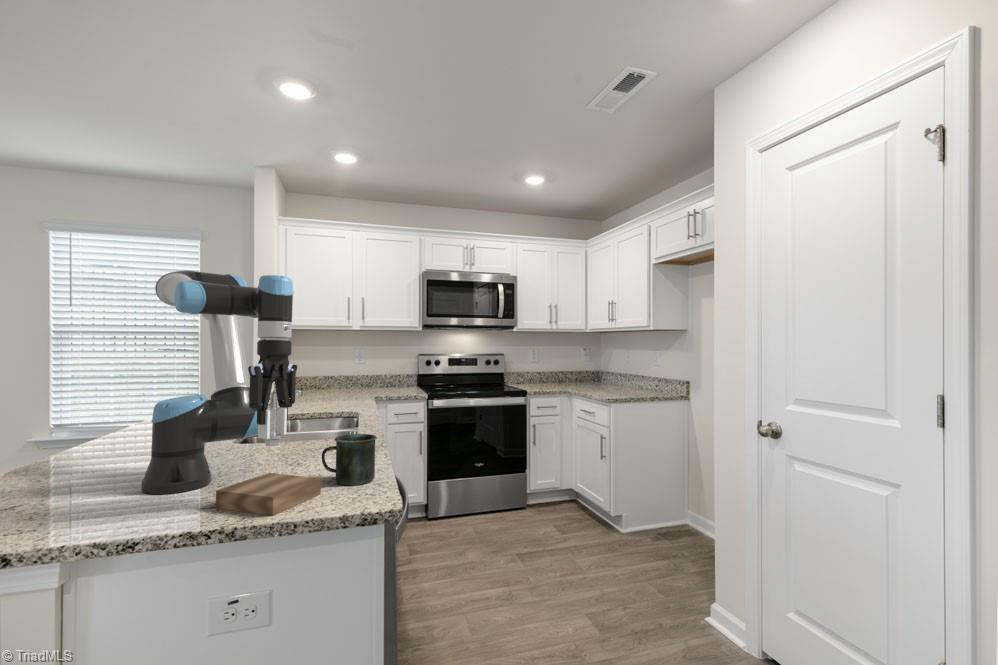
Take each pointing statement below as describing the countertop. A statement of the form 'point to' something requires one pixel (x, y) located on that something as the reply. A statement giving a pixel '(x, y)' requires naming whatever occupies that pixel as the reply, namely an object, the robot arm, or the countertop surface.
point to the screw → (273, 422)
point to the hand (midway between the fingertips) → (272, 435)
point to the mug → (353, 459)
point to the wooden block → (268, 493)
